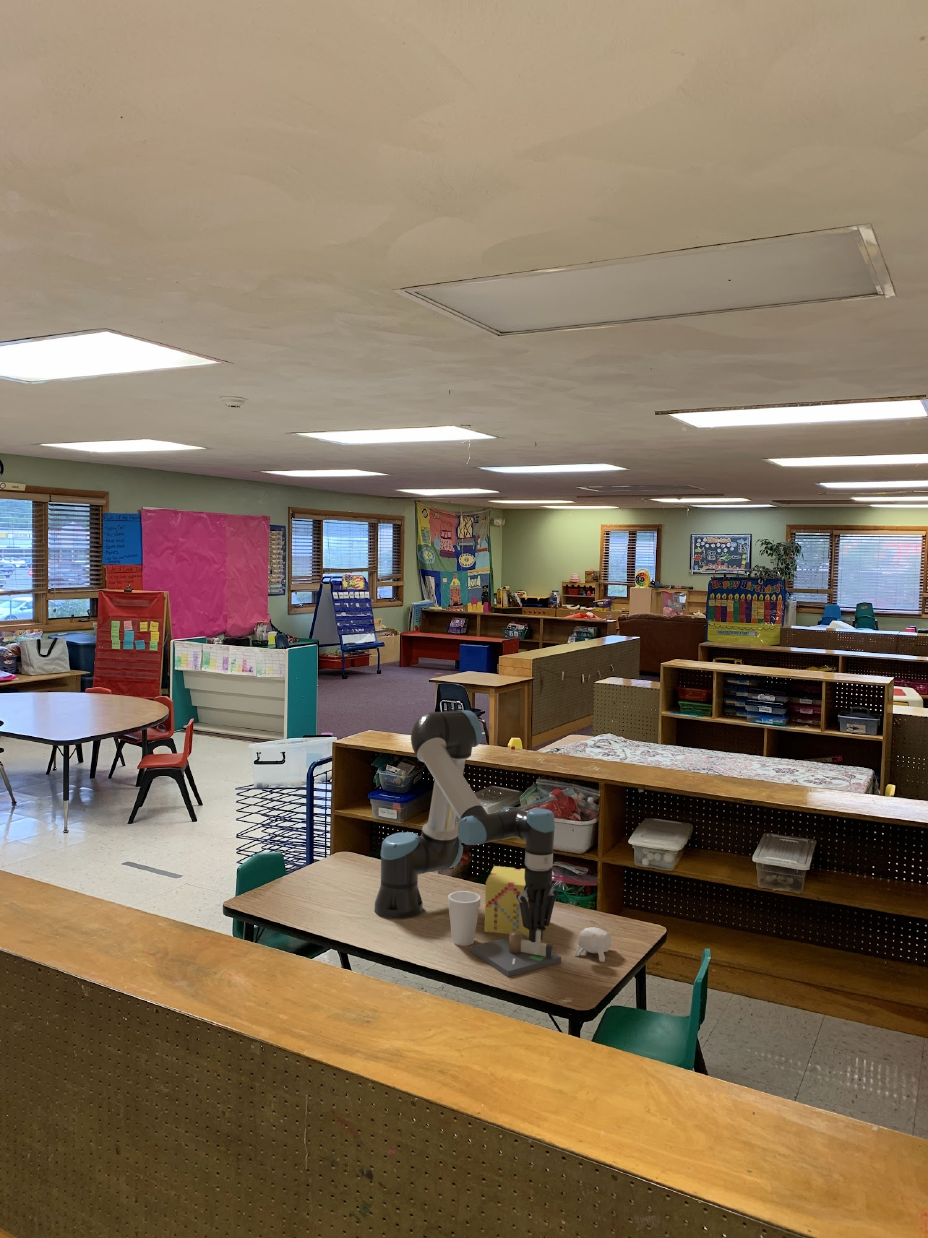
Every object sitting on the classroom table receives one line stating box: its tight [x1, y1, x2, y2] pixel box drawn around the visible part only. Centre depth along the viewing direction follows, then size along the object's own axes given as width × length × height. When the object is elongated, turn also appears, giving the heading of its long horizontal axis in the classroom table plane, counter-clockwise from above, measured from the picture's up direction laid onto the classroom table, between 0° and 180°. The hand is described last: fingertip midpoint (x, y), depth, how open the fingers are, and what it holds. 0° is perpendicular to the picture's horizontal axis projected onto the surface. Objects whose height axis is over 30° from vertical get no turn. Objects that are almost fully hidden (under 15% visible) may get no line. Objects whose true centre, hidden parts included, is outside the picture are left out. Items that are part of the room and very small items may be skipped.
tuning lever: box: [508, 931, 554, 958], centre depth 237 cm, size 12×4×5 cm, turn 69°
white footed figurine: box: [574, 926, 612, 963], centre depth 241 cm, size 9×8×15 cm
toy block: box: [484, 865, 529, 937], centre depth 262 cm, size 15×15×15 cm
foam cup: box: [447, 890, 481, 947], centre depth 248 cm, size 10×9×13 cm
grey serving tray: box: [470, 934, 562, 978], centre depth 239 cm, size 18×18×2 cm
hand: (535, 952), depth 235 cm, fingers closed
